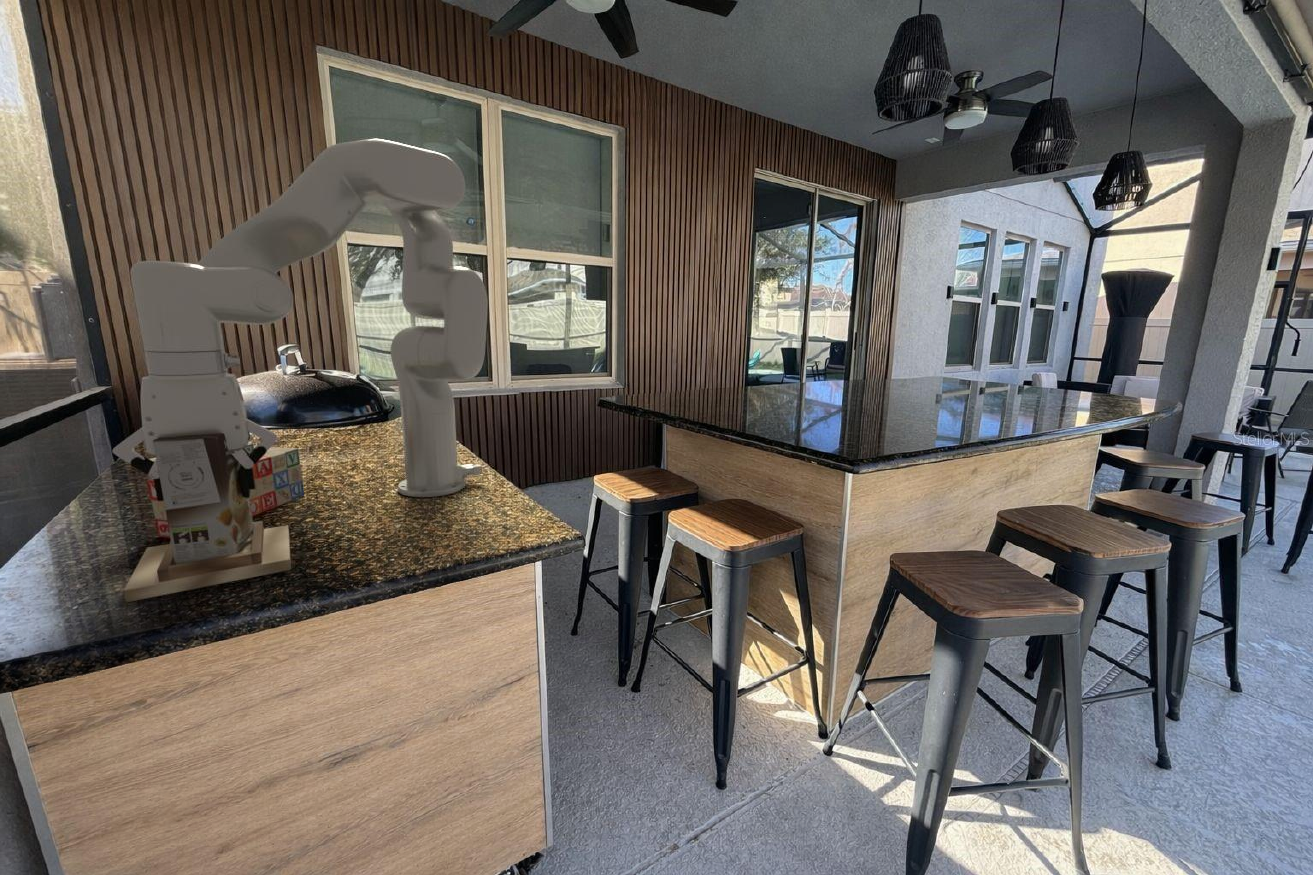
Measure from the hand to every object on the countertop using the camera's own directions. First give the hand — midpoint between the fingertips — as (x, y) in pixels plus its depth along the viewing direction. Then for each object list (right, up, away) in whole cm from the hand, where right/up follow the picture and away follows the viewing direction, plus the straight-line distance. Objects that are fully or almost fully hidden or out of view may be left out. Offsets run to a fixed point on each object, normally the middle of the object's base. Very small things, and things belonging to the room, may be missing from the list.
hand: (209, 499), depth 70 cm
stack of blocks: (-12, -5, +20) cm, 23 cm away
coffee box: (0, -7, +2) cm, 7 cm away
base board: (0, -9, +2) cm, 9 cm away
